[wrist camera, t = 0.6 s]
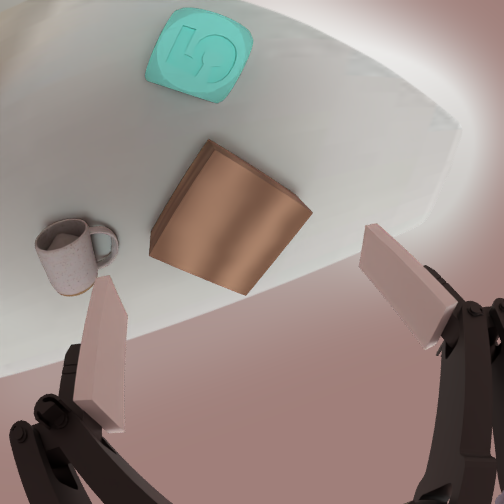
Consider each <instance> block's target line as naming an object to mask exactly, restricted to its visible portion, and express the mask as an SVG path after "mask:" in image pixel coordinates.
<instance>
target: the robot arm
mask: <svg viewBox="0 0 504 504" xmlns="http://www.w3.org/2000/svg"><path fill="white" fill-rule="evenodd" d="M359 268H360V269H361V270H362V271H363V272H364V273H365V275H366V276H367V277H368V278H369V279H370V281H371V282H372V283H373V284H374V285H375V287H376V288H377V289H378V290H379V292H380V293H381V294H382V295H383V297H384V298H385V299H386V300H387V301H388V303H389V304H390V305H391V307H392V308H393V309H394V310H395V312H396V313H397V314H398V315H399V317H400V318H401V319H402V321H403V322H404V323H405V325H406V326H407V327H408V328H409V330H410V331H411V332H412V334H413V335H414V336H415V338H416V339H417V340H418V342H419V343H420V344H421V346H422V347H423V348H424V350H426V349H428V348H430V347H432V346H434V345H436V343H437V342H438V340H439V338H440V336H442V338H443V339H444V341H443V343H442V345H441V346H440V348H439V350H438V351H437V354H436V356H438V355H439V354H440V352H441V351H442V355H441V357H442V359H441V376H440V388H439V398H438V407H437V415H436V422H435V428H434V434H433V440H432V446H431V450H430V455H429V460H428V465H427V469H426V472H425V475H424V477H423V478H422V480H421V481H420V483H419V485H418V487H417V489H416V492H415V495H414V499H413V501H410V502H407V503H405V504H447V501H448V500H449V498H450V501H449V504H491V501H492V496H493V491H494V485H495V479H496V472H497V473H498V480H499V484H500V489H501V492H502V494H501V495H499V496H498V497H497V498H496V501H495V504H504V299H503V298H497V299H496V300H495V301H494V302H493V304H492V306H491V307H482V306H481V305H479V304H478V303H476V302H473V301H467V302H465V301H464V300H463V299H462V298H461V297H460V295H459V294H458V293H457V292H456V291H455V290H454V289H453V288H452V287H451V286H450V285H449V284H448V283H446V281H445V280H444V279H443V278H441V276H440V275H439V274H438V273H437V272H436V271H435V270H433V269H432V268H430V267H428V266H426V265H425V266H422V265H421V264H420V263H419V262H418V261H417V260H416V259H415V258H414V257H413V256H412V255H411V254H410V253H409V252H408V251H407V250H406V249H405V248H404V247H402V246H401V245H400V244H399V243H398V242H397V241H396V240H395V239H394V238H393V237H392V236H390V235H389V234H388V233H387V232H386V231H385V230H384V229H383V228H382V227H380V226H379V225H378V224H377V223H376V224H370V225H365V232H364V239H363V245H362V251H361V257H360V263H359ZM127 320H128V315H127V313H126V311H125V309H124V307H123V304H122V302H121V300H120V298H119V296H118V293H117V291H116V289H115V286H114V284H113V282H112V279H111V277H110V275H108V276H103V277H98V278H96V279H95V283H94V287H93V291H92V295H91V299H90V303H89V307H88V312H87V316H86V321H85V326H84V331H83V336H82V342H81V344H74V345H71V346H70V348H69V349H68V351H67V353H66V355H65V360H64V367H63V370H62V376H61V383H60V390H59V396H56V395H54V394H46V395H44V396H42V397H41V398H40V399H39V400H38V401H37V402H36V405H35V407H34V416H35V419H36V420H37V421H38V422H39V423H37V424H35V425H32V426H31V425H30V424H29V423H27V422H26V421H22V420H21V421H17V422H16V423H15V424H13V426H12V428H11V429H10V434H9V438H10V443H11V447H12V451H13V455H14V459H15V462H16V465H17V468H18V472H19V475H20V478H21V481H22V484H23V487H24V490H25V492H26V495H27V498H28V500H29V503H30V504H92V502H91V501H90V499H89V497H88V495H87V493H86V491H85V490H84V487H83V485H82V483H81V482H80V479H79V477H78V476H77V473H76V471H75V469H76V470H77V472H78V473H79V474H80V475H81V477H82V478H83V479H84V481H85V482H86V483H87V484H88V485H89V487H90V488H91V489H92V490H93V491H94V493H95V494H96V495H97V496H98V497H99V498H100V499H101V501H102V502H103V503H104V504H172V503H171V502H170V501H169V500H167V499H166V498H165V497H164V496H163V495H161V494H160V493H159V492H158V491H157V490H156V489H155V488H153V487H152V486H151V485H150V484H149V483H148V482H147V481H146V480H145V479H143V478H142V477H141V476H140V475H139V474H138V473H137V472H136V471H135V470H134V469H133V468H132V467H131V466H130V465H129V464H128V463H127V462H126V461H125V460H124V459H123V458H122V457H121V456H120V455H119V454H118V452H116V451H115V449H114V448H113V447H112V446H111V445H110V444H109V443H108V442H107V440H106V439H105V438H104V437H102V428H103V429H104V430H105V431H107V432H108V433H117V432H125V415H124V414H125V411H124V383H125V382H124V381H125V351H126V334H127ZM499 337H500V340H501V343H500V344H499V345H498V343H497V340H498V338H499ZM492 428H493V435H494V443H495V452H496V459H495V458H494V457H492V456H491V454H490V448H491V435H492ZM74 468H75V469H74Z"/></svg>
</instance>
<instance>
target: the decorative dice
mask: <svg viewBox="0 0 504 504" xmlns="http://www.w3.org/2000/svg"><path fill="white" fill-rule="evenodd" d="M252 45H253V38H252V36H251V34H250V32H249V30H248V29H246V28H245V27H244V26H242V25H241V24H239V23H237V22H236V21H234V20H232V19H230V18H227V17H225V16H223V15H220V14H217V13H214V12H211V11H207V10H203V9H198V8H181V9H179V10H176V11H175V12H174V13H173V14H172V15H171V17H170V18H169V20H168V22H167V23H166V25H165V27H164V29H163V30H162V32H161V34H160V36H159V38H158V41H157V43H156V45H155V47H154V50H153V52H152V54H151V57H150V60H149V63H148V66H147V69H146V73H145V78H146V80H147V81H149V82H152V83H155V84H158V85H161V86H164V87H168V88H171V89H174V90H177V91H180V92H183V93H186V94H189V95H192V96H195V97H198V98H201V99H204V100H207V101H210V102H214V103H219V102H222V101H223V100H224V99H225V98H226V97H227V95H228V94H229V92H230V91H231V89H232V88H233V86H234V85H235V83H236V81H237V79H238V78H239V76H240V74H241V72H242V70H243V68H244V66H245V64H246V61H247V59H248V57H249V54H250V52H251V49H252Z"/></svg>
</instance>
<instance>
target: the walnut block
mask: <svg viewBox="0 0 504 504" xmlns="http://www.w3.org/2000/svg"><path fill="white" fill-rule="evenodd" d="M312 213H313V212H312V211H311V210H310V209H309V208H308V207H307V206H306V205H305V204H304V203H303V202H302V201H301V200H300V199H299V198H298V197H297V196H296V195H295V194H294V193H293V192H291V191H290V190H288V189H287V188H285V187H284V186H282V185H281V184H279V183H278V182H276V181H275V180H273V179H272V178H270V177H269V176H267V175H266V174H264V173H263V172H261V171H259V170H258V169H256V168H255V167H253V166H252V165H250V164H249V163H247V162H245V161H244V160H242V159H241V158H239V157H237V156H236V155H234V154H233V153H231V152H229V151H228V150H226V149H225V148H223V147H221V146H220V145H218V144H216V143H215V142H213V141H211V140H210V139H208V140H207V142H206V143H205V145H204V146H203V148H202V149H201V151H200V152H199V154H198V155H197V157H196V158H195V160H194V161H193V163H192V165H191V166H190V168H189V169H188V171H187V172H186V174H185V175H184V177H183V179H182V180H181V182H180V183H179V185H178V187H177V188H176V190H175V191H174V193H173V195H172V196H171V198H170V200H169V201H168V203H167V205H166V206H165V208H164V210H163V211H162V213H161V215H160V217H159V218H158V220H157V222H156V224H155V225H154V227H153V229H152V231H151V236H150V249H149V256H151V257H153V258H155V259H157V260H160V261H162V262H164V263H167V264H169V265H171V266H174V267H176V268H179V269H181V270H183V271H186V272H188V273H191V274H193V275H195V276H198V277H200V278H203V279H205V280H208V281H210V282H212V283H215V284H217V285H220V286H222V287H225V288H227V289H230V290H232V291H235V292H237V293H240V294H243V295H245V296H246V295H247V294H248V293H249V291H250V290H251V289H252V288H253V287H254V285H255V284H256V283H257V282H258V280H259V279H260V278H261V277H262V276H263V274H264V273H265V272H266V271H267V269H268V268H269V267H270V266H271V265H272V263H273V262H274V261H275V260H276V258H277V257H278V256H279V255H280V253H281V252H282V251H283V250H284V248H285V247H286V246H287V245H288V244H289V242H290V241H291V240H292V239H293V237H294V236H295V235H296V234H297V232H298V231H299V230H300V229H301V227H302V226H303V225H304V224H305V222H306V221H307V220H308V219H309V217H310V216H311V215H312Z"/></svg>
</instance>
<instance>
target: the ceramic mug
mask: <svg viewBox="0 0 504 504" xmlns="http://www.w3.org/2000/svg"><path fill="white" fill-rule="evenodd" d="M94 233H105V234H107V235H109V236H111V241H112V246H111V253H110V254H109V256H107V257H106V258H105V259H103V260H101V261H99V262H96V259H95V254H94V252H93V246H92V241H91V237H90V235H91V234H94ZM35 249H36V251H37V253H38V256H39V258H40V260H41V263H42V265H43V267H44V269H45V271H46V273H47V276H48V278H49V280H50V282H51V284H52V286H53V287H54V288H55V290H56V291H57V292H58V293H59V294H61V295H63V296H77V295H80V294H82V293H84V292H86V291H87V290H89V289H90V288H91V287H92V286H93V285H94V283H95V279H96V278H97V275H98V273H97V271H98V269H101V268H104V267H106V266H108V265H109V264H110V263H112V262H113V261H114V259H115V258H116V256H117V253H118V240H117V238H116V236H115V235H114V233H113V232H112V231H111V230H110V229H108V228H106V227H103V226H94V227H88V225H87V223H86V222H85V221H83V220H81V219H66V220H61V221H58V222H56V223H54V224H52V225H50V226H48V227H46V228H45V229H44V230H43V231H42V232H41V233H40V234H39V235H38V237H37V238H36V241H35Z"/></svg>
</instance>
